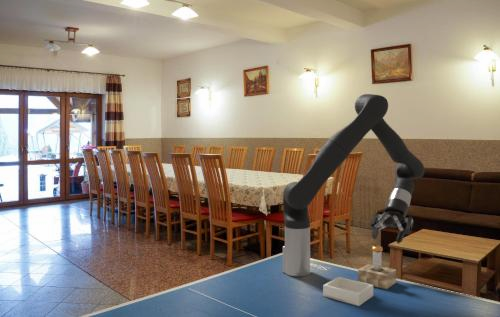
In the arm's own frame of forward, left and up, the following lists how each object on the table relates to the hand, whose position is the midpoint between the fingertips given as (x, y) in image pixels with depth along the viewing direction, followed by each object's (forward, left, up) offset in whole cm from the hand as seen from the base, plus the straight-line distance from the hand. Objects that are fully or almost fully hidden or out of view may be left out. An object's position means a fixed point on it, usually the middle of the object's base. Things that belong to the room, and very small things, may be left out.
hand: (385, 240), depth 147 cm
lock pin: (0, -7, -13) cm, 15 cm away
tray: (-2, -24, -13) cm, 28 cm away
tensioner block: (0, -7, -13) cm, 15 cm away
